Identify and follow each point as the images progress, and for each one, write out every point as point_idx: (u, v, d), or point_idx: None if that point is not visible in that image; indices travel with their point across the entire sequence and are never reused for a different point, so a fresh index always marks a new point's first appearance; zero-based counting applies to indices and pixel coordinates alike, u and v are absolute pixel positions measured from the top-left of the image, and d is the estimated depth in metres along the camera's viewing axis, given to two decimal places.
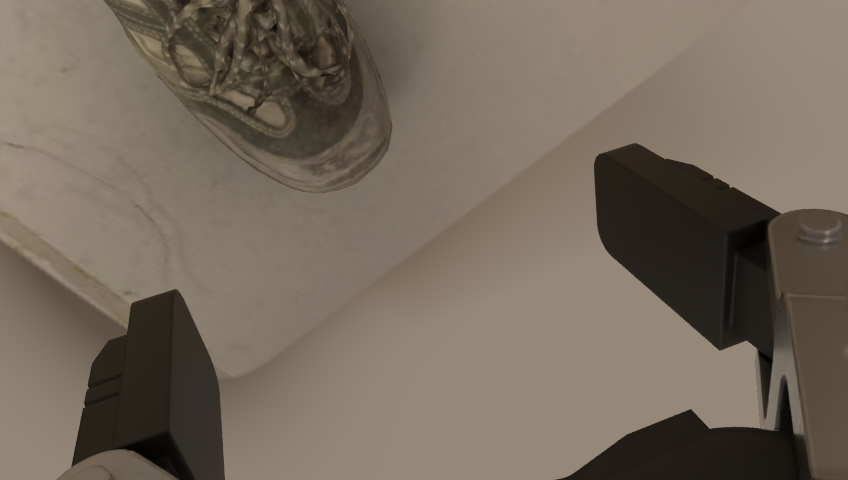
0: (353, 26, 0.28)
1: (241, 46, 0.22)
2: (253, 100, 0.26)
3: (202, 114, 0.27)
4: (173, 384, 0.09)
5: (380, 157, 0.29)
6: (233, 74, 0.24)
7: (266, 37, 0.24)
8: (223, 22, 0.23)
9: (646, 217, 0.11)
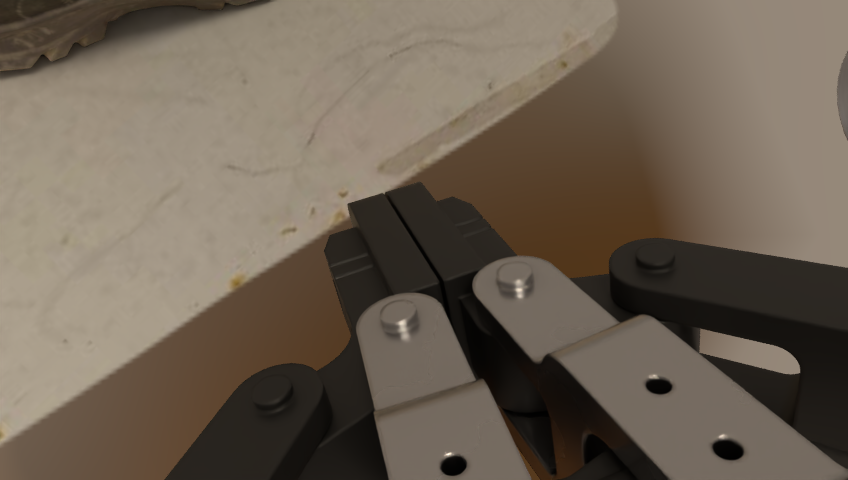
0: None
1: None
2: None
3: None
4: None
5: None
6: None
7: None
8: None
9: None
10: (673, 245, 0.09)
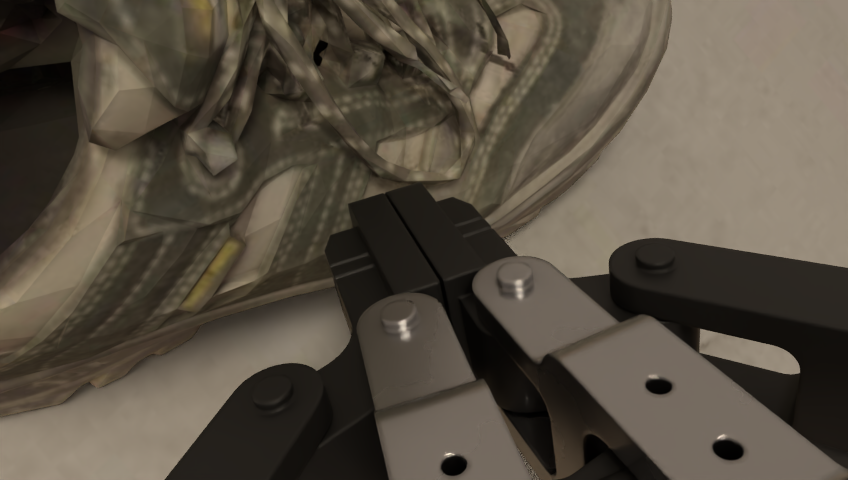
0: None
1: None
2: (490, 64, 0.14)
3: (513, 172, 0.15)
4: None
5: None
6: (430, 46, 0.13)
7: None
8: (331, 36, 0.12)
9: None
10: (673, 245, 0.09)
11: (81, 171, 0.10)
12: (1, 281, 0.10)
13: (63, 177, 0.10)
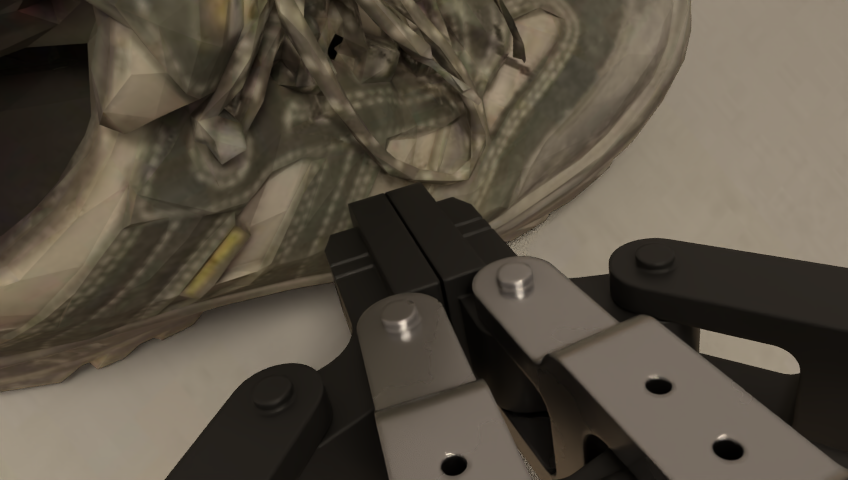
0: None
1: None
2: (505, 67, 0.14)
3: (522, 176, 0.15)
4: None
5: None
6: (446, 45, 0.13)
7: None
8: (347, 30, 0.12)
9: None
10: (673, 245, 0.09)
11: (90, 153, 0.10)
12: (6, 258, 0.10)
13: (72, 158, 0.10)
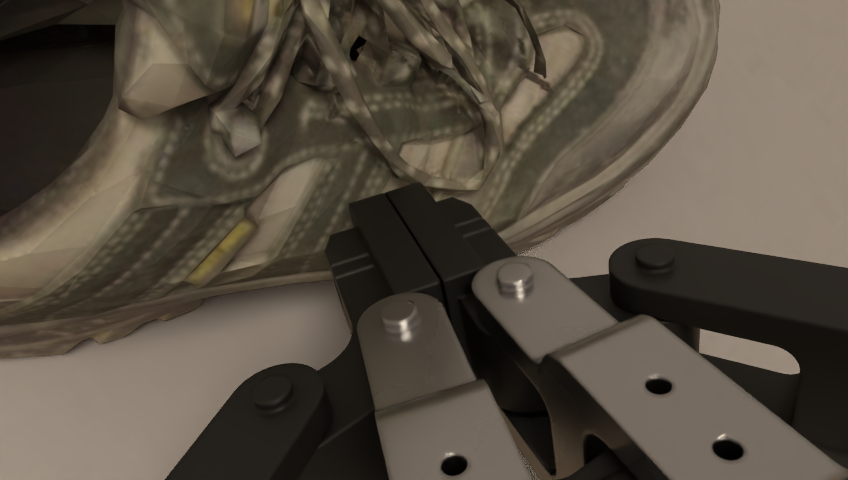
0: None
1: None
2: (525, 81, 0.14)
3: (533, 191, 0.15)
4: None
5: None
6: (467, 56, 0.13)
7: None
8: (370, 34, 0.12)
9: None
10: (673, 245, 0.09)
11: (106, 136, 0.10)
12: (17, 231, 0.10)
13: (89, 139, 0.10)
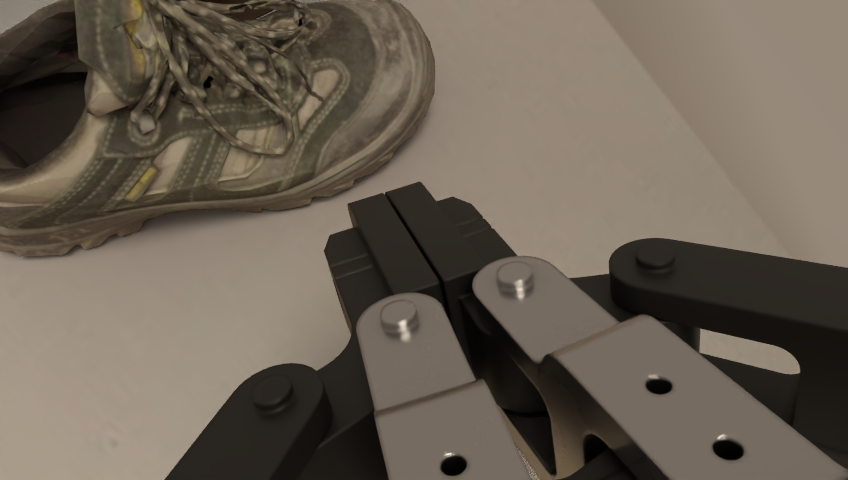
0: None
1: (226, 48, 0.24)
2: (310, 96, 0.27)
3: (320, 156, 0.28)
4: None
5: (403, 7, 0.29)
6: (266, 84, 0.25)
7: (247, 56, 0.26)
8: (215, 74, 0.25)
9: None
10: (673, 245, 0.09)
11: (82, 124, 0.23)
12: (42, 169, 0.23)
13: (75, 127, 0.23)
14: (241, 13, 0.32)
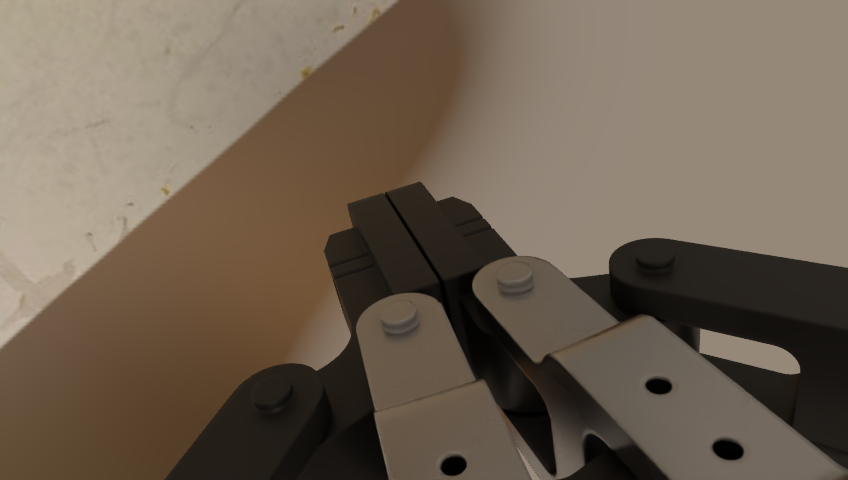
0: None
1: None
2: None
3: None
4: None
5: None
6: None
7: None
8: None
9: None
10: (673, 245, 0.09)
11: None
12: None
13: None
14: None
